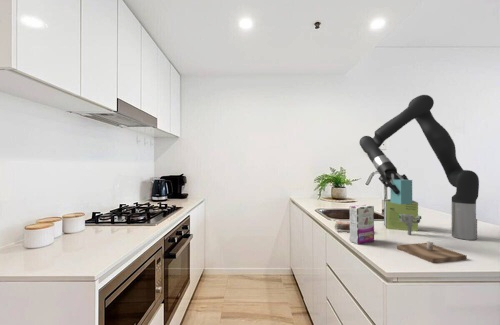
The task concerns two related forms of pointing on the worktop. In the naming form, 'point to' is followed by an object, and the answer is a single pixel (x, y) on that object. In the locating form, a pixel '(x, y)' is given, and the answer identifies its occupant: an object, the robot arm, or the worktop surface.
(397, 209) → the protein box
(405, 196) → the teal rectangular block
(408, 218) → the mechanical component
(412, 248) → the plate
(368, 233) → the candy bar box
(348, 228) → the packaged product
